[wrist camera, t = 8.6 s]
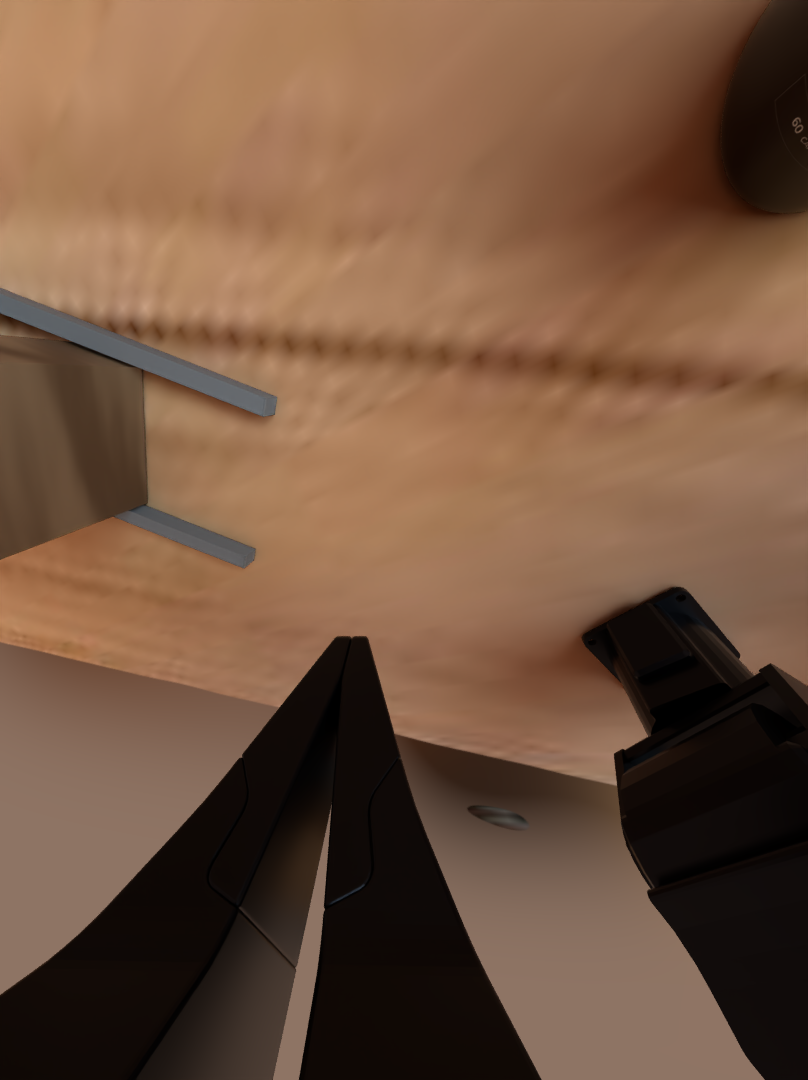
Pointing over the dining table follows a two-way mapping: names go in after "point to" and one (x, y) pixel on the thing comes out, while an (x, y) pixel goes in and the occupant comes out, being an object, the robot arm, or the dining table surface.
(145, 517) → the backstop rail
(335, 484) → the dining table surface
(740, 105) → the supplement bottle
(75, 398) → the walnut block
